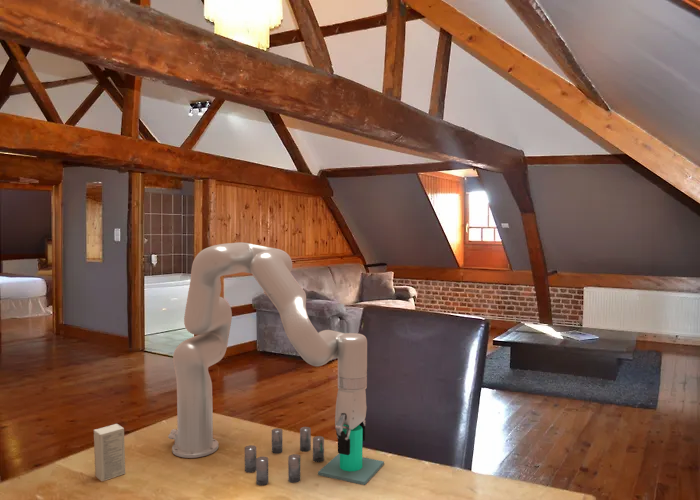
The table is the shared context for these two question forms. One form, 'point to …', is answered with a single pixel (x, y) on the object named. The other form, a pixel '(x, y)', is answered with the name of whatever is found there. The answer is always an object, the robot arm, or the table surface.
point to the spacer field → (277, 447)
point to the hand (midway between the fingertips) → (351, 446)
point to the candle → (353, 451)
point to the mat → (357, 476)
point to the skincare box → (109, 452)
